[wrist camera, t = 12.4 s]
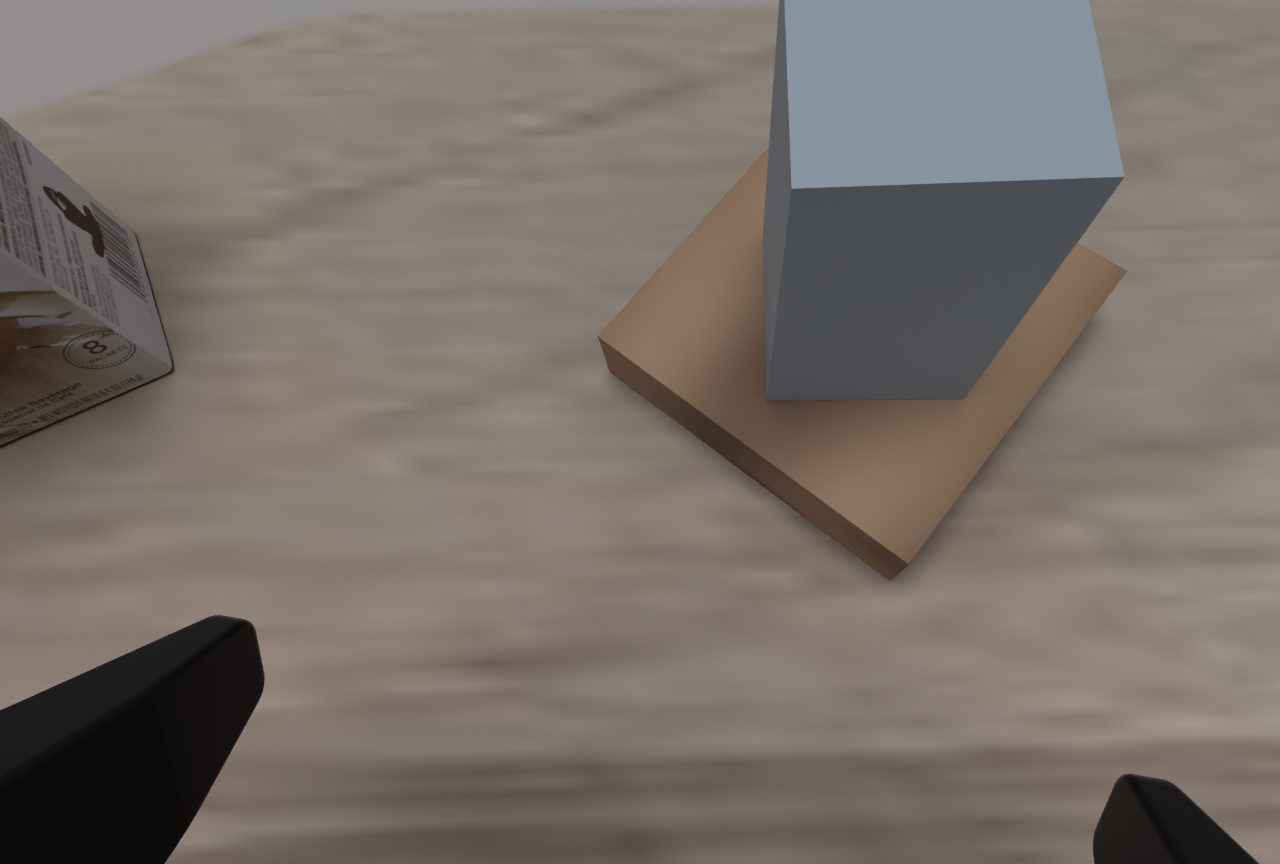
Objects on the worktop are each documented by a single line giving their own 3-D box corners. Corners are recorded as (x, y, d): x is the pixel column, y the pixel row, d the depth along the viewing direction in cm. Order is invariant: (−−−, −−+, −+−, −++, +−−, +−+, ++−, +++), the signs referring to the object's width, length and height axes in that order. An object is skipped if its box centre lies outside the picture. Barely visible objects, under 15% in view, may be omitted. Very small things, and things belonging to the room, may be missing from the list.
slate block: (945, 230, 23) (1075, -66, 14) (964, 399, 21) (1125, 176, 12) (762, 236, 23) (782, -46, 15) (766, 400, 21) (791, 188, 13)
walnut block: (1081, 323, 24) (1127, 271, 22) (886, 584, 23) (908, 564, 20) (806, 159, 27) (815, 95, 25) (612, 379, 25) (597, 336, 23)
